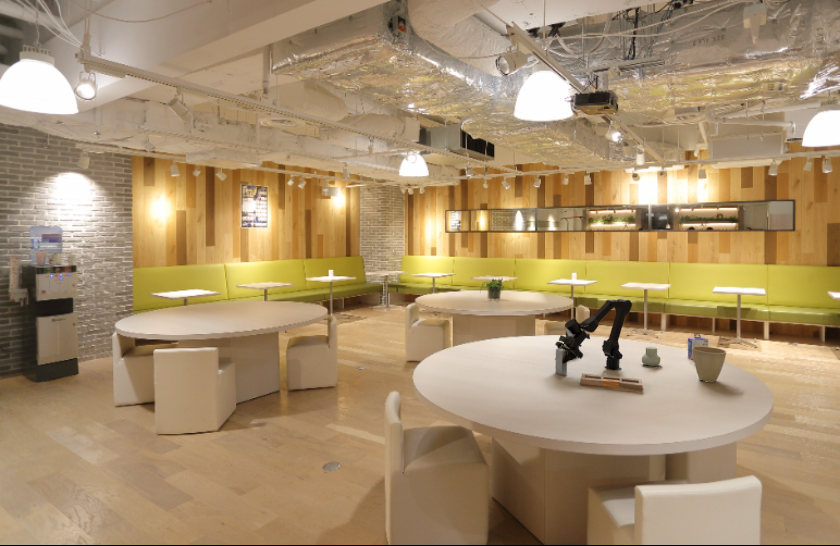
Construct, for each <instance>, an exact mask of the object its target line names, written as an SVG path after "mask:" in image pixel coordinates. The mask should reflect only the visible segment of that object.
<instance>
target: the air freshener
mask: <svg viewBox="0 0 840 546" xmlns="http://www.w3.org/2000/svg"><path fill="white" fill-rule="evenodd" d="M641 362H642V364H644V365H645V366H649V367H656V366H659V365H660V363H661V357H660V355H658V347H655V346H646V347H645V354H643V355H642V358H641Z"/></svg>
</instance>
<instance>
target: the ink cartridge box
mask: <svg viewBox="0 0 840 546" xmlns="http://www.w3.org/2000/svg"><path fill="white" fill-rule="evenodd" d="M693 336H694V337H688V338H687V358H688V359H689V360H691V359H692V361H694V357H693V347H698V346H702V347H709V339H708V338H705V337H702V336H701V334H699V333H698V334H695V333H694V335H693Z"/></svg>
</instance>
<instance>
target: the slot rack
mask: <svg viewBox="0 0 840 546" xmlns="http://www.w3.org/2000/svg"><path fill="white" fill-rule="evenodd" d="M580 387H587V388H588V387H590V388H598V389H608V390H617V391H626V392H635V393H643V389H644V383H643V379H642V378H631V377H624V376H611V375H602V374H592V373H581V377H580Z"/></svg>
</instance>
